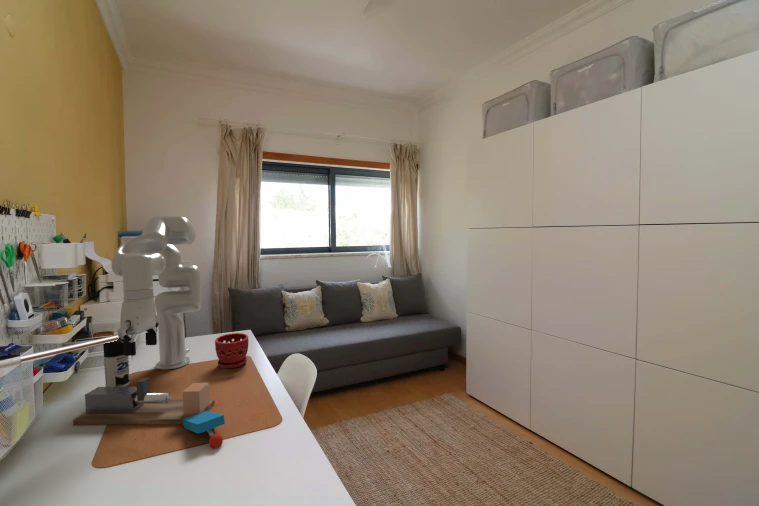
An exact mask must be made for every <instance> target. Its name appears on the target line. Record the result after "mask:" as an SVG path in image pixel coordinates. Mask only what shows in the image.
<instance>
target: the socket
mask: <svg viewBox="0 0 759 506" xmlns="http://www.w3.org/2000/svg"><path fill="white" fill-rule="evenodd" d="M182 400H183V414H199V413H201V412H202V411H203V410H204V409H205V408H206V407H207V406H208V405H209V400H210V385H209V382H193V383H191V384H190V385H188V387H186V388H185V389H184V390H183V391H182Z"/></svg>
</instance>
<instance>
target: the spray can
mask: <svg viewBox="0 0 759 506" xmlns="http://www.w3.org/2000/svg"><path fill="white" fill-rule="evenodd" d="M102 345H103V347H102V348H103V349H102V350H103V363H104V379H105V387H131V379H130V365H129V356H124V348H123V343H122V340H120V338H119V339H118V340H117V341H114V342H110V343H105V344H103V343H102Z"/></svg>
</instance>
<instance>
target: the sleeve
mask: <svg viewBox="0 0 759 506" xmlns="http://www.w3.org/2000/svg"><path fill="white" fill-rule="evenodd" d="M135 393H137V386H130V387H106V386H97V387H96V388H94V389H92V390H91V391H89V392H86V394H84V400H85V401H84V403H85V412H86V414H133V413H134V412H135V411H137V410H138V409H139V408H141V407H142V406H143V405H144V404H133V395H134V394H135Z"/></svg>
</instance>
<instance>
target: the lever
mask: <svg viewBox="0 0 759 506" xmlns="http://www.w3.org/2000/svg"><path fill="white" fill-rule="evenodd" d="M225 424H226V421H225V414H222V413H217V412H214V411H210V410H208V411H205V412H202V413H199V414H196V415H193V416H190V417H187V418H184V419H183V424H182V426H183V428H184V429H186V430H187V431H191V432H193V433H195V434H197V435H200V434H201V433H202V434H203V433H204V432H207V433H208V435H209V436H210V438H209V441H208V445H209V447H210V448H211V449H217V448H220V447H221V446H222V444H223V442H224V438H223V436H222V435H221V433H220V434H219V433H214V432H213V430H212V429H216V428H217V427H220V426H223V425H225Z"/></svg>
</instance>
